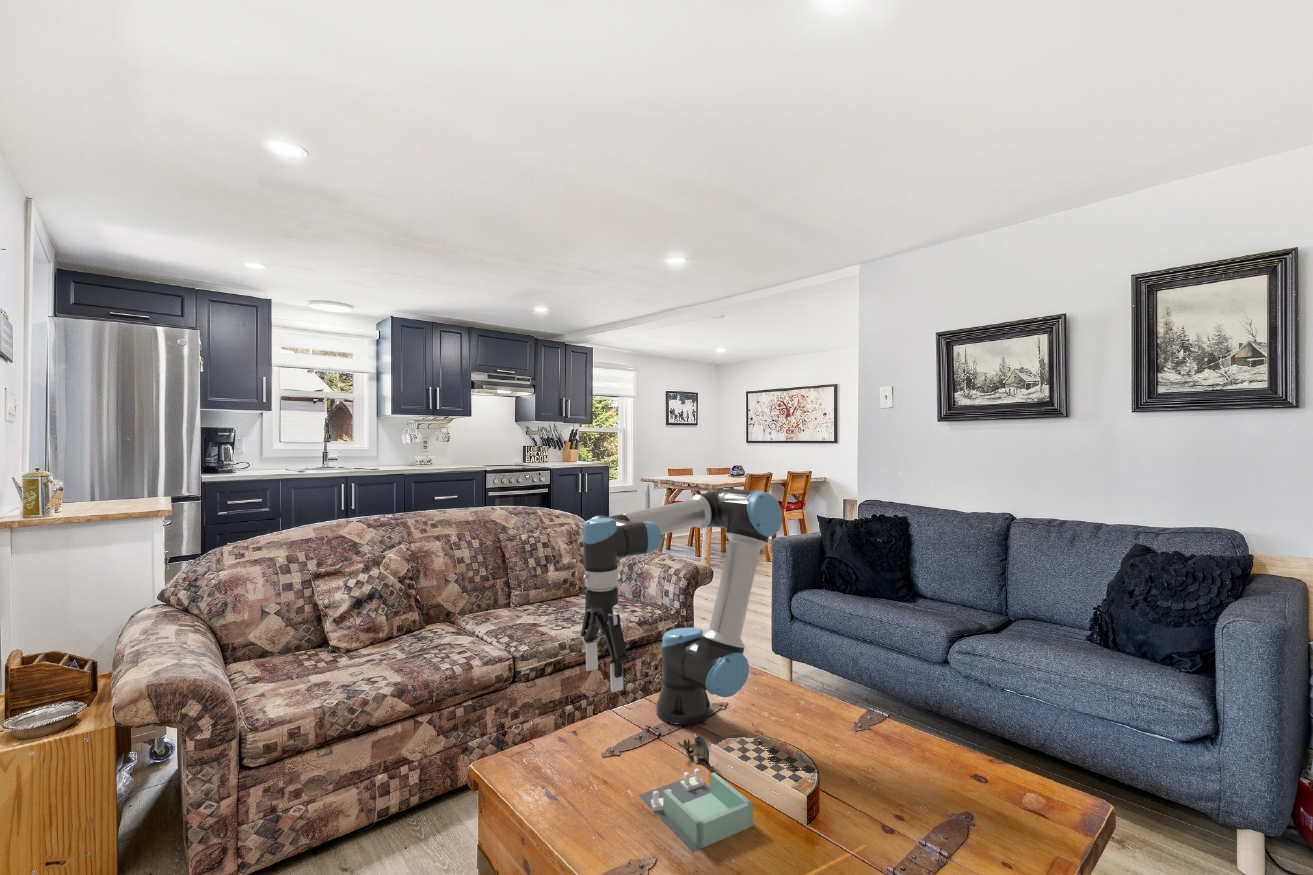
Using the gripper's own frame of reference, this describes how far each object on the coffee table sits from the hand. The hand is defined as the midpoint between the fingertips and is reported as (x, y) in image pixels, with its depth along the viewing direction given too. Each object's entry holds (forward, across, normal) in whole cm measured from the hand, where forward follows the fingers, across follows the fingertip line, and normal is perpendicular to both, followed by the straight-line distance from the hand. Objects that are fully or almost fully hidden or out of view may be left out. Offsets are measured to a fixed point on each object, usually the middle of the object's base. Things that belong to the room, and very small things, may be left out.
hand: (604, 679), depth 140 cm
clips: (+22, +15, +10) cm, 29 cm away
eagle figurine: (+23, +6, +22) cm, 32 cm away
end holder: (+22, +25, +11) cm, 35 cm away
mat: (+22, +21, +10) cm, 32 cm away
